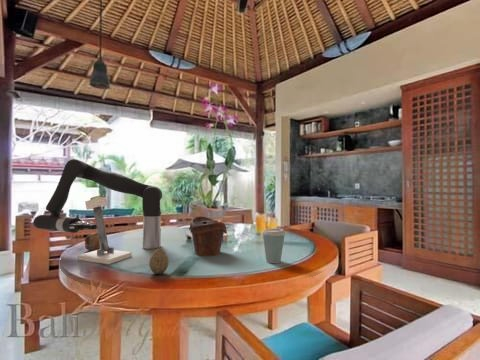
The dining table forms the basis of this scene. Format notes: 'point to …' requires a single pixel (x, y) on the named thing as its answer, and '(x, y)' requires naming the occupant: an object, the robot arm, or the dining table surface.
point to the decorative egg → (158, 262)
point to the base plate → (105, 256)
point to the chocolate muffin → (207, 235)
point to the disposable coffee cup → (273, 244)
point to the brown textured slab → (92, 241)
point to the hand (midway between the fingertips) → (95, 226)
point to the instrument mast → (99, 219)
